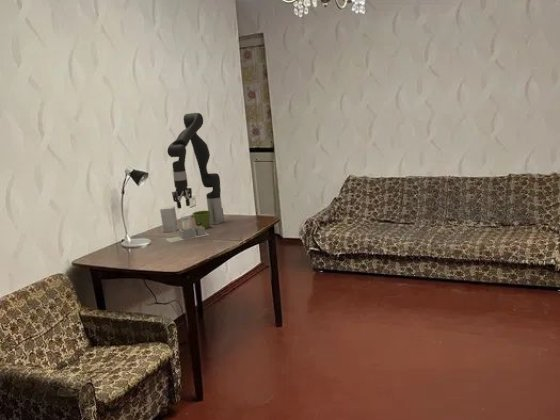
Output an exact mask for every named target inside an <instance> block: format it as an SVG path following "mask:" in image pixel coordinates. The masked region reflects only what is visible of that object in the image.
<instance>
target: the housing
mask: <svg viewBox="0 0 560 420" xmlns="http://www.w3.org/2000/svg"><path fill="white" fill-rule="evenodd" d="M190 229H191V230H187V231H183V228H180V229H179V228H178V233H179V236H175V237H169V238H166V239H165V240H166V241H167V242H168V243H173V242H179V241H184V240H185V241H186V240H190V239H194V238H200V237H206V236H210V234H209V233H208V232H206V228H205V227H202V228H201V229H197V227H195V228H193V227H191V226H190Z"/></svg>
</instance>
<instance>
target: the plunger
mask: <svg viewBox="0 0 560 420" xmlns="http://www.w3.org/2000/svg"><path fill="white" fill-rule="evenodd" d="M202 224H203V222H198V223H196V222H195V226H196V228H197V229H201V228H202Z"/></svg>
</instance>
